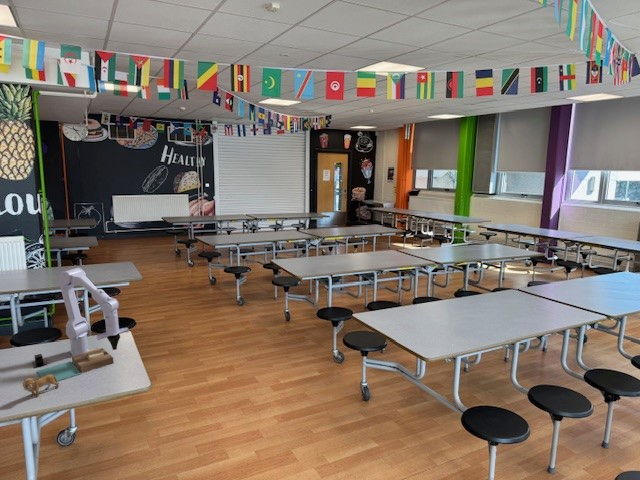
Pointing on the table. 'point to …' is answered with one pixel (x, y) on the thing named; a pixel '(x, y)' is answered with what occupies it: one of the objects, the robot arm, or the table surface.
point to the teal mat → (60, 371)
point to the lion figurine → (39, 384)
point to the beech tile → (94, 354)
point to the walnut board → (88, 365)
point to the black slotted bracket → (38, 361)
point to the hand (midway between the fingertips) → (114, 349)
